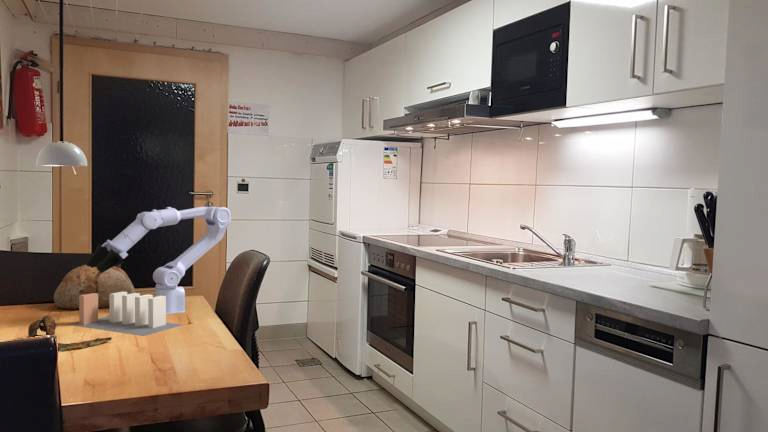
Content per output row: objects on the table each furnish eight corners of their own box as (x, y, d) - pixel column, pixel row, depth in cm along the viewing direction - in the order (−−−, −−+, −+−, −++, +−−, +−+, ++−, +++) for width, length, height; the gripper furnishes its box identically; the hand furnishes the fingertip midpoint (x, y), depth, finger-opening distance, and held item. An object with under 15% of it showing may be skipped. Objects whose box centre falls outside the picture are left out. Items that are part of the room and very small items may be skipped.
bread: (46, 312, 197) (46, 269, 196) (64, 300, 219) (64, 261, 219) (129, 309, 204) (129, 268, 203) (138, 298, 226) (138, 260, 226)
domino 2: (109, 321, 182) (109, 293, 182) (122, 318, 187) (122, 291, 187) (114, 322, 181) (114, 294, 181) (127, 319, 186) (127, 292, 186)
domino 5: (148, 327, 176) (148, 298, 175) (161, 323, 180) (161, 295, 180) (153, 328, 175) (153, 298, 174) (165, 324, 180) (165, 296, 179)
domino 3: (122, 323, 180) (122, 295, 180) (135, 320, 185) (135, 292, 184) (126, 324, 179) (126, 295, 179) (139, 321, 184) (139, 293, 184)
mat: (69, 326, 178) (69, 324, 178) (112, 316, 192) (112, 315, 192) (143, 337, 165) (143, 335, 165) (183, 326, 180) (183, 324, 180)
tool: (11, 339, 160) (13, 374, 136) (12, 317, 160) (14, 349, 135) (103, 332, 173) (120, 364, 149) (104, 312, 173) (121, 340, 148)
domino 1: (79, 324, 178) (79, 295, 178) (93, 320, 183) (93, 293, 183) (83, 324, 178) (83, 296, 177) (98, 321, 182) (98, 293, 182)
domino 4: (135, 325, 178) (134, 296, 177) (148, 322, 183) (148, 294, 182) (139, 326, 177) (139, 297, 177) (152, 322, 182) (152, 294, 181)
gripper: (110, 226, 192) (77, 255, 186) (129, 234, 182) (95, 264, 176) (123, 241, 196) (91, 269, 190) (142, 249, 187) (109, 279, 180)
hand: (94, 268), depth 183 cm, fingers open, 7 cm apart
